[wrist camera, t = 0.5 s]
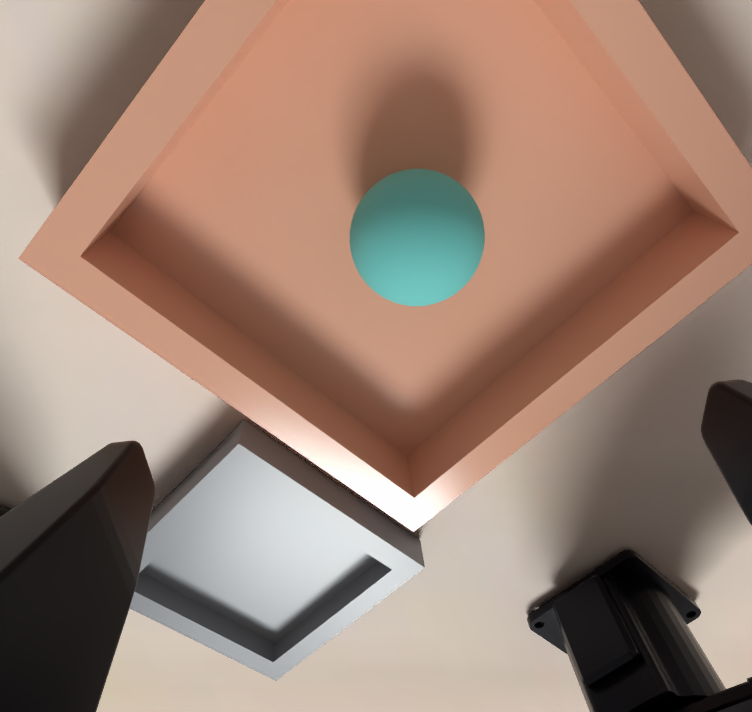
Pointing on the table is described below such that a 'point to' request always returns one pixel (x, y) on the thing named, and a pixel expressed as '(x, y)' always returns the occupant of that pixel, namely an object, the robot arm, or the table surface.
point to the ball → (417, 237)
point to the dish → (360, 173)
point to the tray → (267, 555)
